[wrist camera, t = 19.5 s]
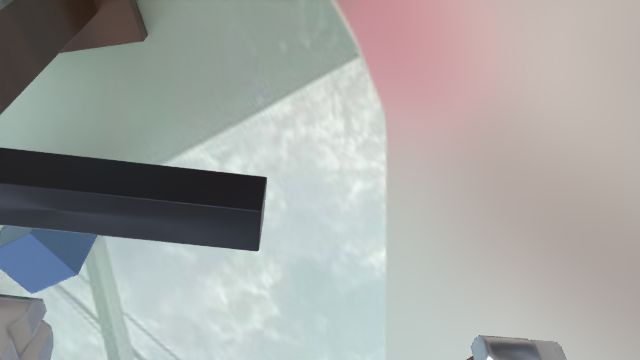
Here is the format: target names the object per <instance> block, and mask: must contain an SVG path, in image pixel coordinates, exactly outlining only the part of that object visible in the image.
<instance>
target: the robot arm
mask: <svg viewBox="0 0 640 360" xmlns="http://www.w3.org/2000/svg"><path fill="white" fill-rule="evenodd" d="M46 311H47V310H46V307H45V304H44V302H43V299H38V298H29V297H20V296H11V295H2V294H0V360H50V358H51V354H52V350H53V332H52V328H51V326H50V325H49V324H47V323H46V322H45V321H44V320H42V319H43V317H44V315H45V313H46ZM471 349H472V354H473V356H472V357H470V358H469V359H467V360H566V357H565V354H564V352H563V350H562V347H561V346H560V345H559V344H558V343H557V342H552V341H539V340H528V339H522V338H507V337H495V336H481V335H479V336H478V337H476V338H475V339H474V341H473V343H472V346H471Z"/></svg>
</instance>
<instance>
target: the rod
mask: <svg viewBox="0 0 640 360" xmlns="http://www.w3.org/2000/svg"><path fill="white" fill-rule="evenodd" d="M266 185H267V177H261V176H252V175H243V174H234V173H225V172H216V171H207V170H198V169H189V168H180V167H171V166H162V165H153V164H144V163H135V162H126V161H117V160H108V159H99V158H90V157H81V156H72V155H63V154H53V153H44V152H35V151H26V150H17V149H8V148H0V225H5V226H14V227H24V228H34V229H44V230H54V231H63V232H73V233H83V234H93V235H103V236H112V237H122V238H132V239H142V240H151V241H161V242H171V243H181V244H191V245H200V246H210V247H220V248H230V249H240V250H249V251H258V250H259V245H260V238H261V232H262V225H263V218H264V208H265V197H266Z"/></svg>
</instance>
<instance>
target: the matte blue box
mask: <svg viewBox="0 0 640 360" xmlns="http://www.w3.org/2000/svg"><path fill="white" fill-rule="evenodd" d="M96 237H97V235H93V234H83V233H73V232H63V231H54V230H44V229H34V228H24V227H14V226H5V225H4V227H3V228H2V230H1V231H0V269H1V270H2V271H3V272H4V273H6V274H7V275H8V276H9V277H11V278H12V279H13V280H14V281H16V282H17V283H18V284H19V285H20V286H22V287H23V288H24V289H25V290H27V291H28V292H29V293H30V294H34V293H37V292H39V291H41V290H43V289H46V288H48V287H50V286H53V285H55V284H57V283H60V282H62V281H64V280H67V279H69V278H71V277H74V276H76V275H78V273H79V271H80V269H81V267H82V265H83V263H84V261H85V259H86V257H87V255H88V253H89V251H90V249H91V247H92V245H93V243H94V241H95V239H96Z"/></svg>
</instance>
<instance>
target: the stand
mask: <svg viewBox="0 0 640 360" xmlns="http://www.w3.org/2000/svg"><path fill="white" fill-rule="evenodd" d="M146 37H147V33H146V30H145V27H144V24H143V22H142V19H141V16H140V13H139V10H138V7H137V4H136V2H135V0H0V115H1V114H2V113H3V111H4V110H5V109H6V108H7V107H8V106H9V105H10V104H11V103H12V102H13V101H14V100H15V99H16V98H17V97H18V96H19V95H20V94H21V93H22V92H23V90H24V89H25V88H26V87H27V86H28V85H29V84H30V83H31V82H32V81H33V80H34V79H35V78H36V77H37V76H38V75H39V74H40V73H41V72H42V71H43V69H44V68H45V67H46V66H47V65H48V64H49V63H50V62H51V61H52V60H53V59H54V58H55V57H56V56H57V55H58V54H59V53H63V52H70V51H77V50H84V49H91V48H98V47H105V46H113V45H120V44H127V43H134V42H141V41H144V40H145V38H146Z"/></svg>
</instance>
